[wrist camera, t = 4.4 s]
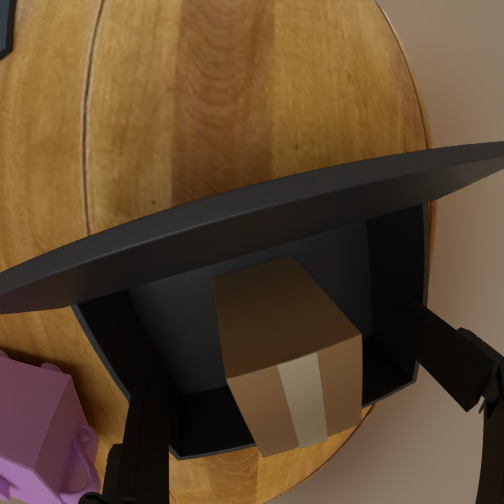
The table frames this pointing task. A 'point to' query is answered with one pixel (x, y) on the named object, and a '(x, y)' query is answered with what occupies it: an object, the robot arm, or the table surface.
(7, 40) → the mat
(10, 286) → the flap
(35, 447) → the teapot
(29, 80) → the table surface
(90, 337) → the carton
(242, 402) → the parcel
